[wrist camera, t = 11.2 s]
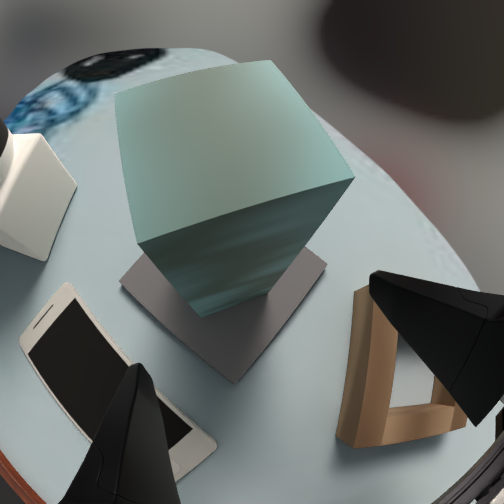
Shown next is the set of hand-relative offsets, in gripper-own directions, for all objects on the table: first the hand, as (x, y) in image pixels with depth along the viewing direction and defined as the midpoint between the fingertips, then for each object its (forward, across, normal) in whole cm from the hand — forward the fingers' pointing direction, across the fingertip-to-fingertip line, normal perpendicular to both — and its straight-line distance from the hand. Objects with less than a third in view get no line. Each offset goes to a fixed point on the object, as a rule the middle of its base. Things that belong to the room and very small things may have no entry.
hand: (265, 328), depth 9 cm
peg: (+9, 0, +2) cm, 9 cm away
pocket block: (+1, -10, +11) cm, 15 cm away
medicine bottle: (+16, +14, -4) cm, 22 cm away
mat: (+9, 0, +3) cm, 9 cm away
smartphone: (+6, +11, +7) cm, 14 cm away
